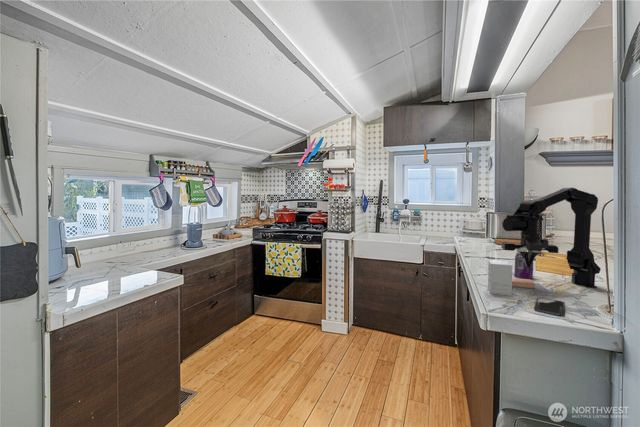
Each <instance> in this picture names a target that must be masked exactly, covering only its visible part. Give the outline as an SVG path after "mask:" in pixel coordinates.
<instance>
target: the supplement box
mask: <svg viewBox="0 0 640 427" xmlns="http://www.w3.org/2000/svg"><path fill="white" fill-rule="evenodd" d="M487 273H488V274H487V277H488V278H487V289H488V291H489V293H490V294H491V295H492V294H493V295H503V296H511V297H512V292H513V289H512V278H513V264H512V263H511V262H510V261H509V260H507V261H506V260H493V259H492V260H491V259H488V272H487Z"/></svg>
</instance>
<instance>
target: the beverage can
mask: <svg viewBox="0 0 640 427" xmlns="http://www.w3.org/2000/svg"><path fill="white" fill-rule="evenodd" d="M513 274H514V275H513V276H514V277H516V278H517V279H530V280H532V279H533V278H534V261H533V262H532V264H531V266H530V267H529V268H527V267H526V265H525V262H524V260H523V257H522V256H521V254H520V252H518V251H516V254H515V256H514V273H513Z"/></svg>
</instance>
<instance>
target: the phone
mask: <svg viewBox="0 0 640 427" xmlns="http://www.w3.org/2000/svg"><path fill="white" fill-rule="evenodd" d="M538 299H539V297H537V298H536V302H535V304H534V307H533V309H534V311H535V312H537V313H538V312H539V313H543V314H547V315H552V316H557V317H561V316H562V317H565V313H566V311H565V304H566V303H565V301H562V300H556V299H550V298H545V297H541V299H543V300H549V301H550V302H543V301H538Z"/></svg>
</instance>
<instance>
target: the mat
mask: <svg viewBox="0 0 640 427" xmlns="http://www.w3.org/2000/svg"><path fill="white" fill-rule="evenodd" d="M534 283H535V288H522V287H512V290H520V291H533V292H543V293H551V291H549V290H548V289H547V288H546V287H545V286H543V285H542V284H540V283H536V282H534Z"/></svg>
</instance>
